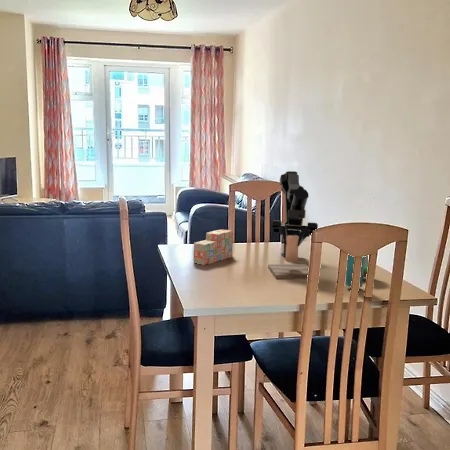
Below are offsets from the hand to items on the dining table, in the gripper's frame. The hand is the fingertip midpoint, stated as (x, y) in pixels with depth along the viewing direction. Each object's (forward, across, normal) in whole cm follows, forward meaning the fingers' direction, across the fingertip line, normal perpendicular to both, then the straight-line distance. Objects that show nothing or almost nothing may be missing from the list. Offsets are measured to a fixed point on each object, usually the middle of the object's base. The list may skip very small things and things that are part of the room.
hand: (291, 245), depth 210 cm
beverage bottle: (+18, +25, -1) cm, 31 cm away
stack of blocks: (+1, -36, +17) cm, 40 cm away
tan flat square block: (+8, 0, +9) cm, 12 cm away
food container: (+6, +29, +11) cm, 32 cm away
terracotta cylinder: (+4, 0, +6) cm, 7 cm away
